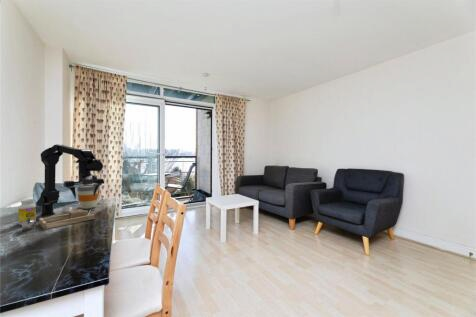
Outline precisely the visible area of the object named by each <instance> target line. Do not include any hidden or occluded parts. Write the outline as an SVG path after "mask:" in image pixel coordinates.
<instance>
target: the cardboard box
mask: <svg viewBox="0 0 476 317" xmlns="http://www.w3.org/2000/svg"><path fill="white" fill-rule="evenodd" d="M84 211H85V210H84V209H83V208H80V209H72V210H69V211H68V214H69V218H68V219H72V218H77V217H82V216H85V215H84Z"/></svg>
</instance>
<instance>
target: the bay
mask: <svg viewBox="0 0 476 317" xmlns="http://www.w3.org/2000/svg"><path fill="white" fill-rule="evenodd" d="M88 213H89V211H88V210H84V216H82V217H77V218H72V219H69V213H65V214H59V215H54V216H53V215H52V216H49V217H47V216H46V217H39V218H38V220H39V221H38V222H39V225H40V226H41V228H42V229H43V230H48V229H53V228H57V227H62V226H66V225H67V226H68V225H72V224H77V223H81V222H86V221H91V220H95V214H94V213H93V214H88Z"/></svg>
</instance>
